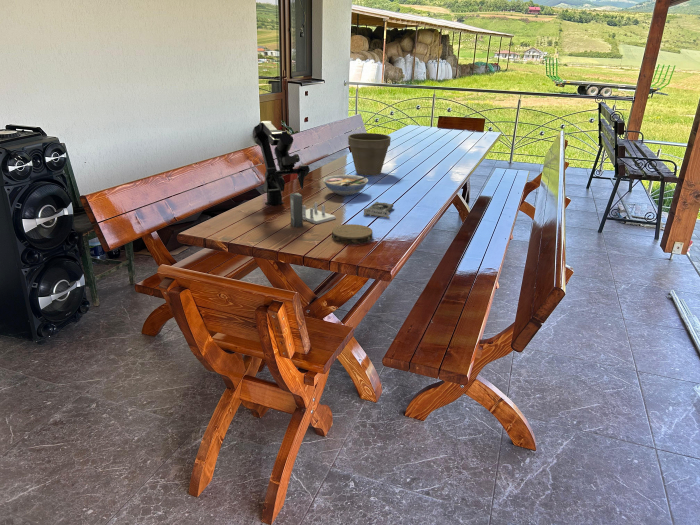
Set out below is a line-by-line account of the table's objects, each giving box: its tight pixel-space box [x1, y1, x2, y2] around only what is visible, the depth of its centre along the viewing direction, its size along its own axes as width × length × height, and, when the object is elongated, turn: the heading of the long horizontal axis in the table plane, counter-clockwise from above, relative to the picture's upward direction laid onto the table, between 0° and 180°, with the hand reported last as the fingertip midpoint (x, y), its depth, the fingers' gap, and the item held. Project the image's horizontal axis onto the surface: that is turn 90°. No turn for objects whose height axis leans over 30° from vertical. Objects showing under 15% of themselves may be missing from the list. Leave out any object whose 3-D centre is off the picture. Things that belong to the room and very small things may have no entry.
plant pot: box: [347, 132, 392, 176], centre depth 307 cm, size 25×25×22 cm
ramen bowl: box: [323, 174, 370, 197], centre depth 264 cm, size 25×23×8 cm
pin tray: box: [302, 202, 336, 225], centre depth 228 cm, size 16×11×5 cm
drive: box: [289, 192, 304, 228], centre depth 216 cm, size 5×4×13 cm
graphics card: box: [363, 201, 394, 219], centre depth 237 cm, size 17×4×12 cm
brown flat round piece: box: [331, 223, 373, 245], centre depth 205 cm, size 16×16×3 cm
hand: (292, 189), depth 220 cm, fingers open, 9 cm apart
